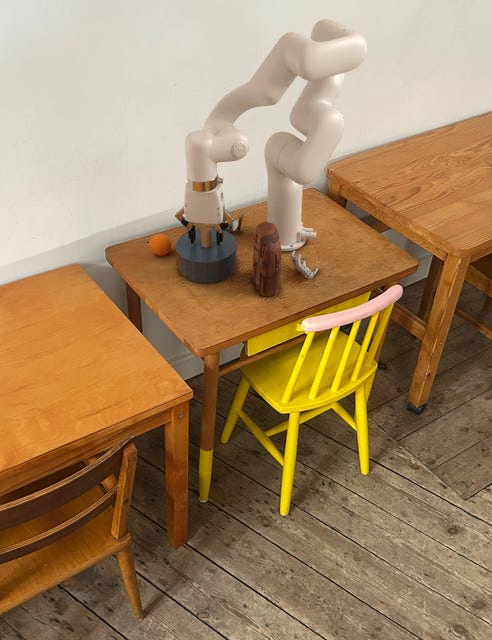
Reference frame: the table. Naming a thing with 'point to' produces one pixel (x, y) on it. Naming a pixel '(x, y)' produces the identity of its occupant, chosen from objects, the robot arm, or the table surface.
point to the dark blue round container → (207, 269)
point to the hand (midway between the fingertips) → (206, 241)
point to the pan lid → (206, 246)
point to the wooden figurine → (267, 259)
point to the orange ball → (160, 244)
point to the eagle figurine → (234, 224)
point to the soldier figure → (303, 266)
